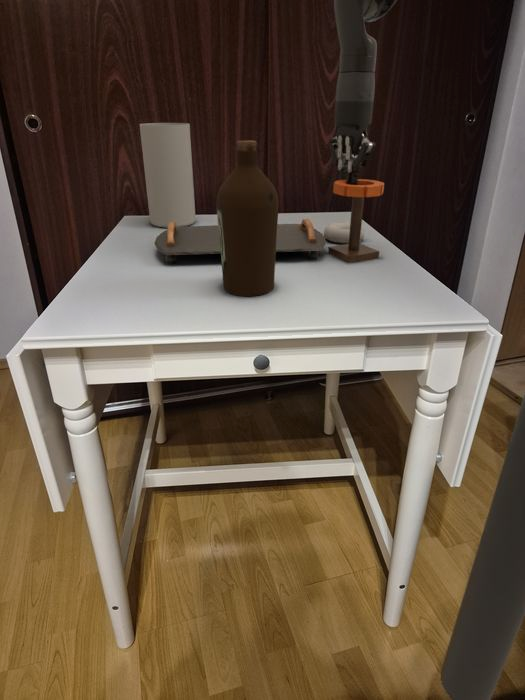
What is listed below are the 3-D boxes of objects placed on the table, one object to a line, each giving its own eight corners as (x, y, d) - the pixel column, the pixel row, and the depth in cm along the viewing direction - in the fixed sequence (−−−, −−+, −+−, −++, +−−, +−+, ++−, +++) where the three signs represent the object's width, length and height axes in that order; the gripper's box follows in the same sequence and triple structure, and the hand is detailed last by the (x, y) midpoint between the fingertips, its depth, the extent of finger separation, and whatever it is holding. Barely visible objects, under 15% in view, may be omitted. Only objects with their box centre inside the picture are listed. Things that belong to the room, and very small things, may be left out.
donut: (372, 241, 118) (343, 232, 125) (374, 227, 117) (344, 218, 124) (343, 248, 113) (314, 238, 120) (344, 233, 111) (315, 224, 118)
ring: (392, 194, 99) (394, 184, 98) (353, 198, 95) (354, 188, 94) (362, 187, 107) (363, 177, 106) (324, 190, 103) (325, 181, 102)
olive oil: (279, 278, 94) (281, 138, 82) (274, 299, 84) (276, 144, 73) (225, 276, 95) (220, 138, 83) (214, 296, 85) (207, 143, 74)
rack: (378, 257, 106) (386, 194, 99) (349, 263, 103) (354, 197, 96) (356, 248, 112) (362, 188, 106) (327, 253, 109) (331, 191, 102)
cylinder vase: (153, 218, 140) (143, 122, 128) (197, 217, 140) (191, 122, 129) (147, 228, 129) (135, 125, 117) (194, 228, 129) (187, 125, 118)
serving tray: (151, 267, 100) (147, 237, 97) (160, 238, 120) (158, 212, 117) (334, 261, 103) (336, 232, 100) (313, 234, 124) (315, 209, 121)
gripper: (392, 99, 92) (382, 193, 100) (349, 98, 103) (342, 183, 111) (360, 99, 89) (352, 196, 97) (319, 99, 100) (315, 186, 108)
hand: (347, 189), depth 104 cm, fingers closed on ring, 2 cm apart
